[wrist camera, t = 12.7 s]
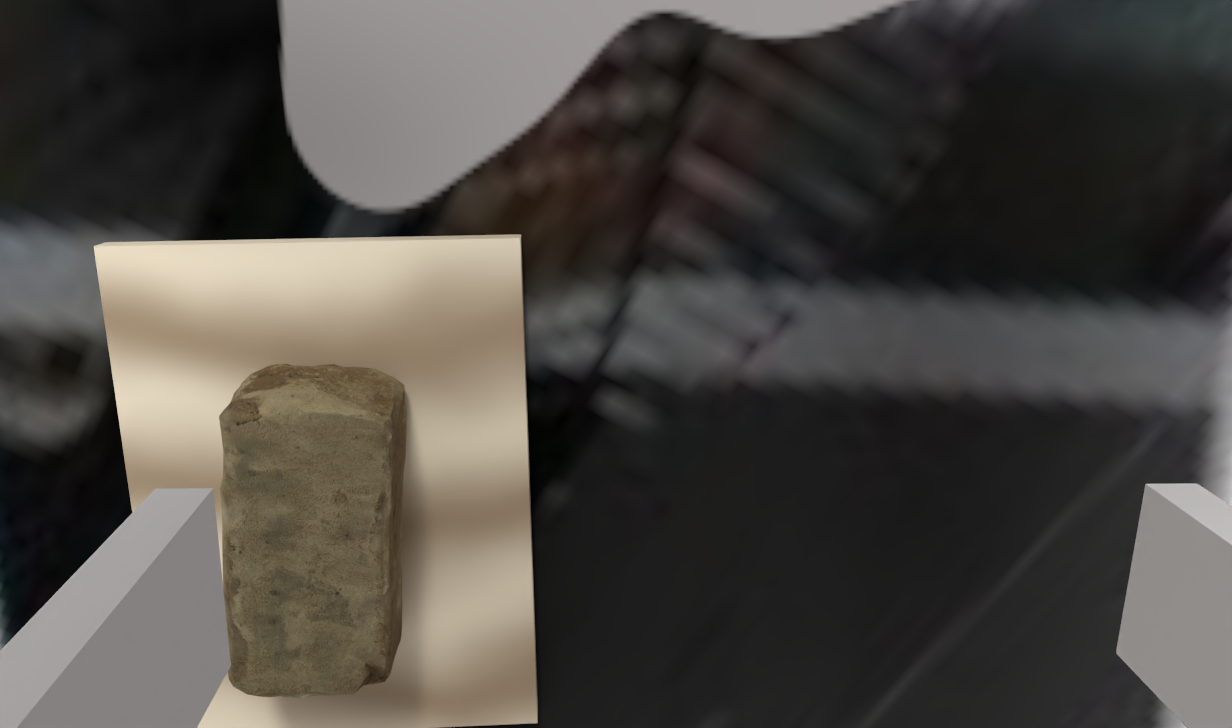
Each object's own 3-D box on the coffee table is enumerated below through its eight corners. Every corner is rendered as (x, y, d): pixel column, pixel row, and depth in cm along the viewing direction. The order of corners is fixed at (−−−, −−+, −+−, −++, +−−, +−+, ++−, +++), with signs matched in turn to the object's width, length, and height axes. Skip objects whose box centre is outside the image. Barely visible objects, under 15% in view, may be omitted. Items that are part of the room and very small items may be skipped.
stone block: (262, 635, 40) (222, 709, 35) (250, 353, 37) (205, 391, 33) (410, 638, 41) (391, 710, 36) (410, 358, 38) (389, 397, 33)
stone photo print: (105, 242, 37) (93, 246, 36) (521, 234, 38) (520, 238, 37) (174, 724, 42) (165, 739, 41) (537, 708, 43) (537, 723, 42)
